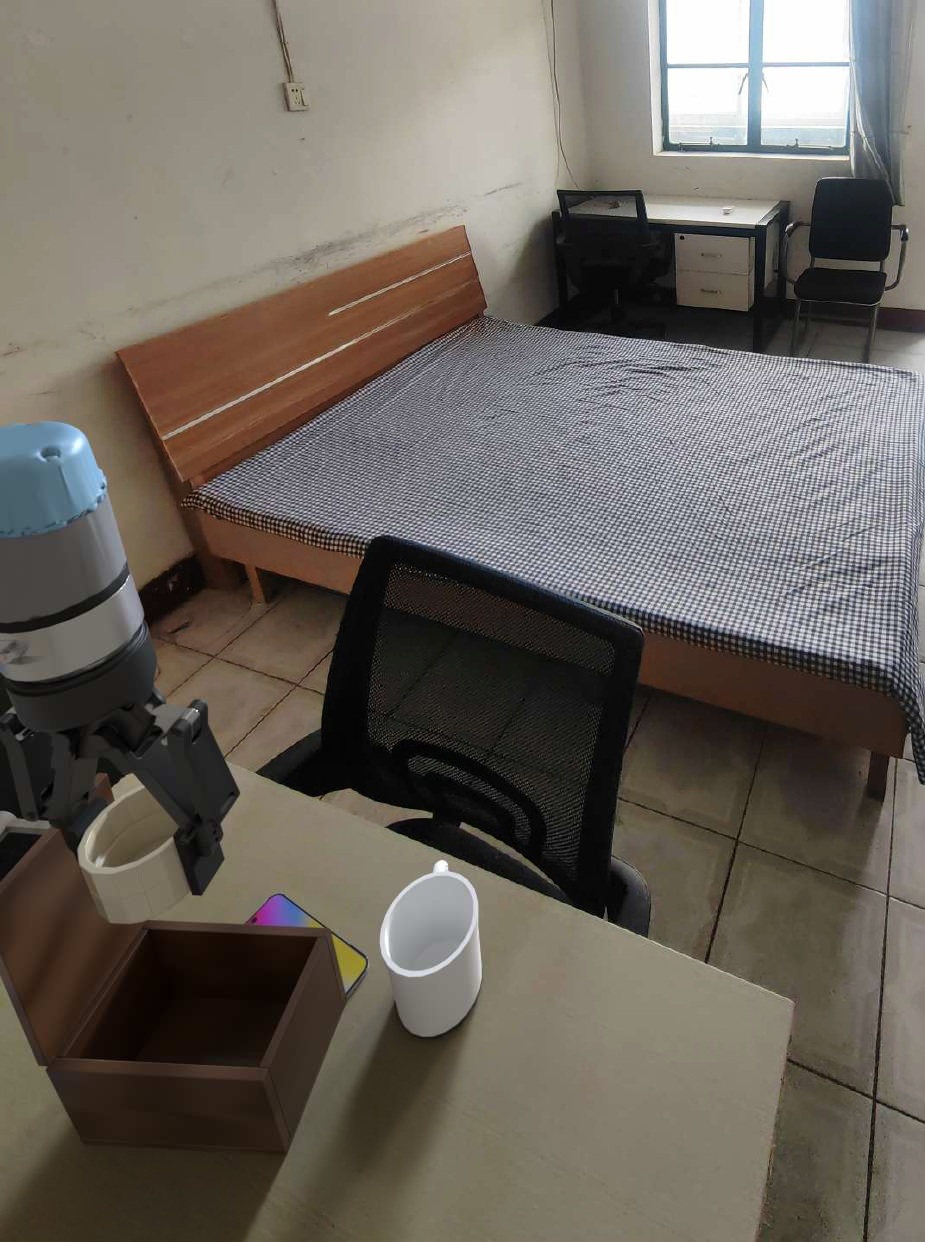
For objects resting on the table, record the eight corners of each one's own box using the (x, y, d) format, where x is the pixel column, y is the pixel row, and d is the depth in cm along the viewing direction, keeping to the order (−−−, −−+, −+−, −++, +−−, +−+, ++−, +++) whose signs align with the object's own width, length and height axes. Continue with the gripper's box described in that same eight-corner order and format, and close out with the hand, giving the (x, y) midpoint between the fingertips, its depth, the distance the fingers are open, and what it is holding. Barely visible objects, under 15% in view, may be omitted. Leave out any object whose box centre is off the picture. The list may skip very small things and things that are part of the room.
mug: (482, 1035, 64) (472, 966, 61) (383, 1055, 63) (368, 985, 60) (491, 909, 75) (484, 843, 71) (407, 923, 73) (395, 857, 70)
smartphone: (309, 1044, 63) (210, 958, 69) (310, 1048, 64) (211, 962, 70) (373, 960, 70) (277, 888, 76) (374, 964, 70) (278, 892, 76)
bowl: (73, 927, 50) (49, 872, 48) (149, 826, 57) (131, 775, 55) (171, 931, 50) (151, 876, 48) (235, 830, 57) (220, 778, 55)
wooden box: (347, 998, 67) (330, 927, 63) (286, 1155, 57) (262, 1081, 53) (173, 990, 67) (146, 919, 64) (82, 1144, 57) (44, 1070, 54)
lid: (107, 772, 57) (13, 765, 57) (-17, 913, 47) (-131, 904, 48) (149, 916, 64) (64, 909, 64) (47, 1067, 54) (-54, 1058, 54)
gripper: (-132, 684, 43) (-14, 922, 50) (184, 695, 42) (255, 934, 50) (-14, 601, 50) (74, 822, 57) (258, 610, 49) (310, 831, 57)
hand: (158, 874), depth 53 cm, fingers closed on bowl, 7 cm apart
